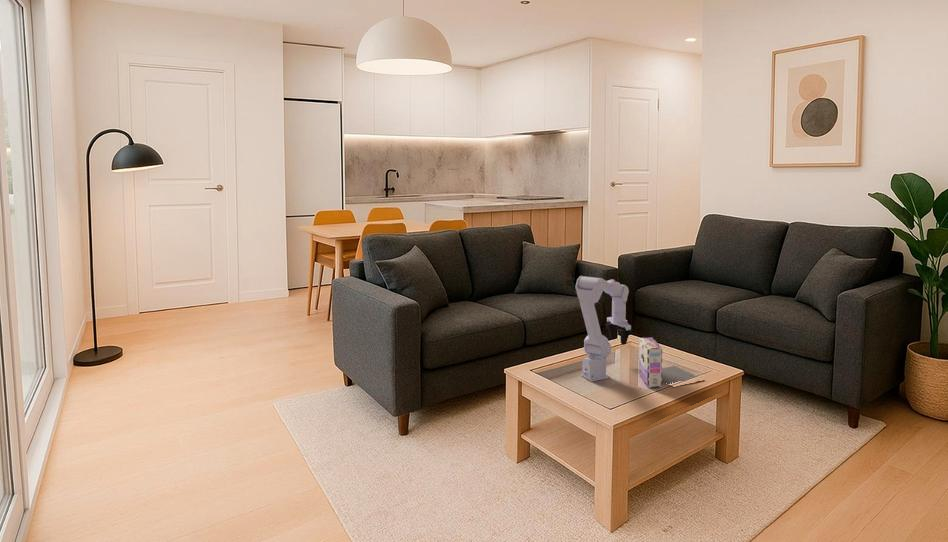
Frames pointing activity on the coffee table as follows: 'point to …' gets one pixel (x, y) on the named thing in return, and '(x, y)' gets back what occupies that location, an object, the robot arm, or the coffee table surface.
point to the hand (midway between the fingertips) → (618, 341)
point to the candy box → (650, 362)
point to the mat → (675, 375)
